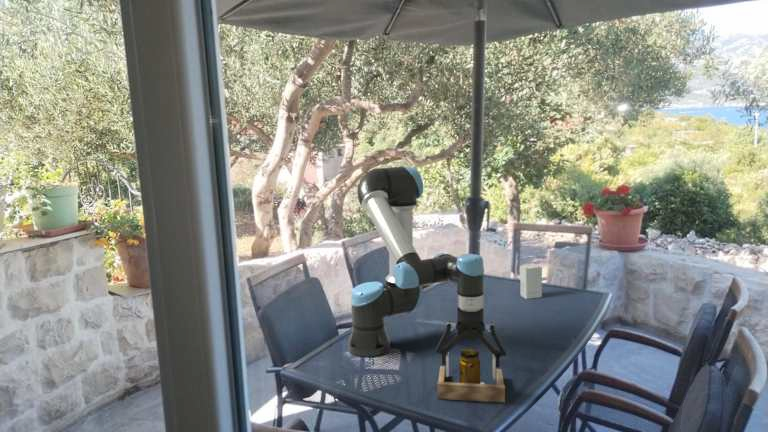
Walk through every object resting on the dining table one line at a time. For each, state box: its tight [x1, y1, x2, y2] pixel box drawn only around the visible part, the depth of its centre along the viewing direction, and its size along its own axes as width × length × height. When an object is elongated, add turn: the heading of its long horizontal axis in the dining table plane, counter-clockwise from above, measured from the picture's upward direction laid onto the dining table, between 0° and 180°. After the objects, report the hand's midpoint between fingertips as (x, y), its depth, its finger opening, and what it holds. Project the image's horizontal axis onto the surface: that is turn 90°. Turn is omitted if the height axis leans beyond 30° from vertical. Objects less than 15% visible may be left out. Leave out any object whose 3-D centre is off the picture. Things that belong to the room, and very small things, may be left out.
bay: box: [436, 365, 506, 403], centre depth 149 cm, size 19×14×4 cm
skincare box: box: [519, 263, 543, 300], centre depth 229 cm, size 8×6×15 cm
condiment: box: [459, 348, 485, 384], centre depth 147 cm, size 7×8×12 cm
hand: (470, 376), depth 147 cm, fingers open, 13 cm apart
